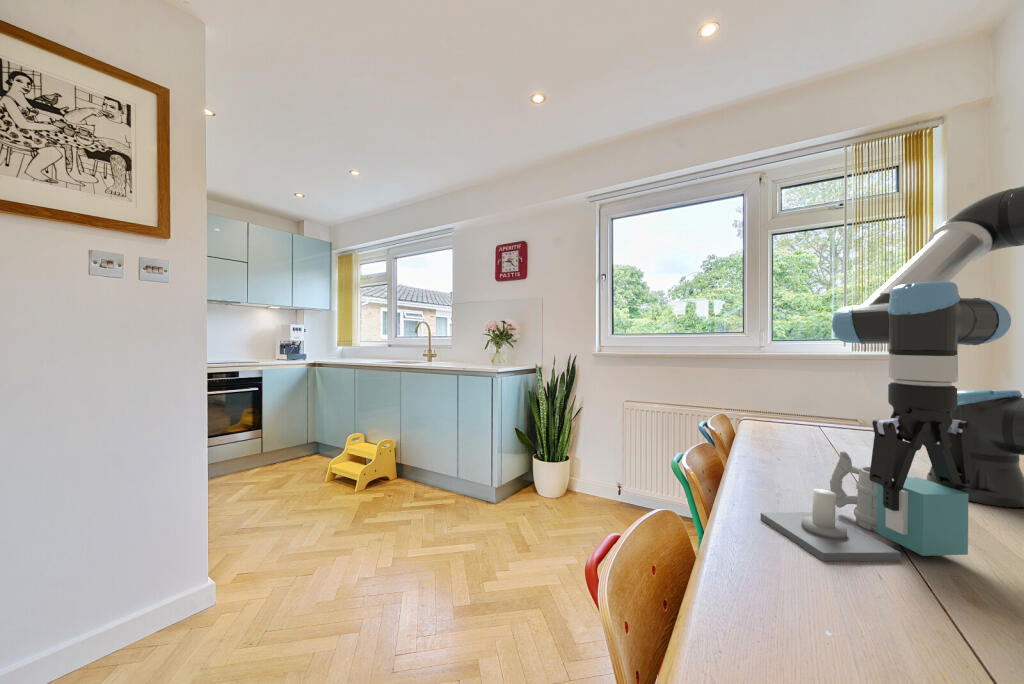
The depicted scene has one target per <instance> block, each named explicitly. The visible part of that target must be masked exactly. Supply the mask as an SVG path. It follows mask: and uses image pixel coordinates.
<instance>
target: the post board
mask: <svg viewBox="0 0 1024 684" xmlns="http://www.w3.org/2000/svg"><path fill="white" fill-rule="evenodd" d="M836 508H837V506H836V494H835V493H834V492H831V490H827V489H824V488H823V489H821V488H814V489H812V512H760V520H761V521H762V522H764V523H766V524H767V525H768V526H770V527H771V528H773V529H775V530H776V531H778V532H779V533H780V534H782V535H783V536H785V537H787V538H788V539H790V540H791V541H793V542H794V543H795V544H797V545H798V546H800V547H801V548H803V549H804V550H806V551H807V552H809V553H810V554H812V555H814V556H815V557H817V558H818V559H819V560H821V561H823V562H838V561H839V562H840V561H841V562H843V561H844V562H849V561H850V562H851V561H853V562H854V561H855V562H856V561H857V562H859V561H860V562H861V561H862V562H863V561H864V562H867V561H869V562H871V561H876V562H877V561H878V562H879V561H880V562H881V561H886V562H887V561H901V552H900V551H898V550H897V549H894V548H893V547H891V546H889V545H887V544H885V543H883V542H881V541H879V540H877V539H875V538H873V537H871V536H870V535H868V534H865V533H864V532H862V531H860V530H858V529H857V528H855V527H852V526H850V525H849V524H847V523H845V522H843V521H841V520H838V519H837V518H836Z"/></svg>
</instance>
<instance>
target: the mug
mask: <svg viewBox="0 0 1024 684" xmlns="http://www.w3.org/2000/svg"><path fill="white" fill-rule="evenodd" d="M870 468H871V466H861V467H857V466H854V465H853V463H852V458H851V457H850V455H849V454H848V453H847V452H845V450H842V451H839V459H838V461H837V463H836V466H835V468H834V470H833V473H832V474H831V478H830V479H829V486H830V491H831V492H834V493H835V494H836V508H839V509H841V508H843V507H845V506H846V505H856V506H855V507H854V509H853V514H854V517H855V523H856V524H858V525H859V526H860V527H862V528H863V529H866V530H868V531H873V532H875V533H877V483H875V482H872V481H870V479H869V476H870ZM849 473H851V474H855V475H858V481H857V482H856V484H855V485H856V487H855V488H856V489H857V494H852V495H851V494H849V495H848V494H847V493H846V492H845V490H844V489H843V479H844V478H845V477H846V476H847V475H848V474H849ZM907 478H909V476H907Z"/></svg>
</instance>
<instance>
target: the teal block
mask: <svg viewBox="0 0 1024 684" xmlns="http://www.w3.org/2000/svg"><path fill="white" fill-rule="evenodd" d="M892 481H894V479H893V478H892ZM902 490H904V491H907V492H908V535H903V534H901V533H899V532H896V531H894V530H892V529H890V528H888V527H886V508H885V507H884V505H883V487H882V485H880V484H878V483H877V532H876V533H877V534H878V535H881V536H883V537H885V538H887V539H889V540H890V541H893V542H895V543H897V544H898V545H901V546H903V547H904V548H907V549H909V550H911V551H913V552H915V553H916V554H919V555H920V556H925V557H926V556H965V555H969V501H968V493H965V492H961V491H958V490H955V489H952V488H949V487H946V486H943V485H940V484H937V483H934V482H931V481H928V480H927V479H926V478H925V479H924V478H921V477H915V476H914V477H908V478H906V480H905V483H904V486H903V489H902Z"/></svg>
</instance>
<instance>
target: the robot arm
mask: <svg viewBox="0 0 1024 684" xmlns="http://www.w3.org/2000/svg"><path fill="white" fill-rule="evenodd" d="M1019 246H1020V247H1021V246H1024V185H1023V186H1020V187H1015V188H1010V189H1006V190H1001V191H999V192H996V193H995V192H994V193H992V194H990V195H988V196H986V197H984V198H981V199H979V200H977V201H975V202H974V203H971V204H969V205H968V206H966V207H965V208H963V209H961V210H959V211H958V212H957V213H955V214H953V215H952V216H951V217H949V218H948V219H946V220H945V221H944V222H942V223H941V224H940V225H939V226H938V227H937V228H936V229H935V230H934V231H932V232H931V234H930V235H929V237H928V243H927V244H926V245H925V246H923V248H922V249H920V250H919V251H918V252H917V253H916V254H915V255H914V256H913V257H912V258H911V259H909V260H908V261H907V262H906V263H905V264H904V265H903V266H902V267H900V269H898V270H897V272H896V273H895V274H893V275H892V276H891V277H890V278H889V279H888V280H887V281H886V282H884V284H882V285H881V286H880V287H879V288H878V289H877V290H876V291H875V292H873V294H872V295H869V297H868V298H867V299H866V300H865V301H863V302H862V303H861V304H860V305H855V304H853V305H852V304H851V305H849V306H843V307H841V308H839V309H838V310H837V311H835V312H834V314H833V317H832V321H831V329H832V331H833V333H834V336H835V338H837V339H838V340H839V341H840V342H843V343H847V344H861V345H867V344H869V345H875V344H877V345H878V344H880V345H881V344H884V345H885V344H888V346H889V347H888V378H889V379H890V380H893V382H890V383H889V384H888V388H887V392H888V394H887V398H888V399H887V402H888V404H889V405H890V406H892V408H893V410H892V413H891V415H890V418H886V419H883V420H882V419H877V418H876V419H873V420H872V421H871V422H872V423H871V425H872V428H873V433H874V437H873V444H872V454H871V462H870V467H871V468H870V476H869V479H870V481H872V482H875V483H878V484H880V485H882V487H883V505H884V507H885V508H886V527H888V528H890V529H892V530H894V531H896V532H899V533H901V534H903V535H908V492H907V491H904V490H902V489H903V486H904V483H905V480H906V478H907V477H908V474H909V472H910V469H911V466H912V463H913V461H914V458H915V455H916V453H917V451H920V450H921V449H922V447H923V446H924V447H925V450H926V453H927V455H928V458H929V461H930V463H931V467H930V470H929V472H928V473H927V475H926V480H928V481H931V482H934V483H937V484H940V485H943V486H946V487H949V488H952V489H955V490H958V491H961V492H965V493H968V502H974V503H979V504H983V505H989V506H990V505H991V506H995V505H996V507H1002V506H1008V507H1007V508H1012V507H1024V474H1023V471H1022V470H1021V467H1020V455H1021V456H1024V397H1023V394H1022V393H1021V391H1020V390H1018V389H976V390H975V389H969V390H968V389H966V390H965V389H963V390H962V389H961V390H959V389H958V388H957V387H956V386H955V385H953V383H954V384H955V383H956V382H958V381H959V356H958V347H959V346H958V345H964V346H970V345H972V346H980V345H982V344H989V343H993V342H995V341H997V340H999V339H1000V338H1002V337H1003V336H1005V335H1006V333H1008V331H1009V329H1010V328H1011V326H1012V317H1011V314H1010V312H1009V311H1008V309H1007V308H1006V307H1004V306H1003V305H1002V304H1001V303H998V302H996V301H992V300H989V299H985V298H984V299H983V298H981V297H971V298H968V297H967V298H965V297H964V298H962V297H961V296H960V295H959V288H958V286H957V284H956V283H955V282H952V279H954V278H955V277H957V275H958V274H959V273H960V272H961V271H962V270H963V269H964V268H965V267H966V266H967V265H968V264H969V263H971V262H975V261H977V260H979V259H981V258H983V257H984V256H985V255H987V254H988V253H990V252H993V251H997V250H999V249H1001V250H1002V249H1006V248H1012V247H1019ZM892 478H893V479H894V481H892Z"/></svg>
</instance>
